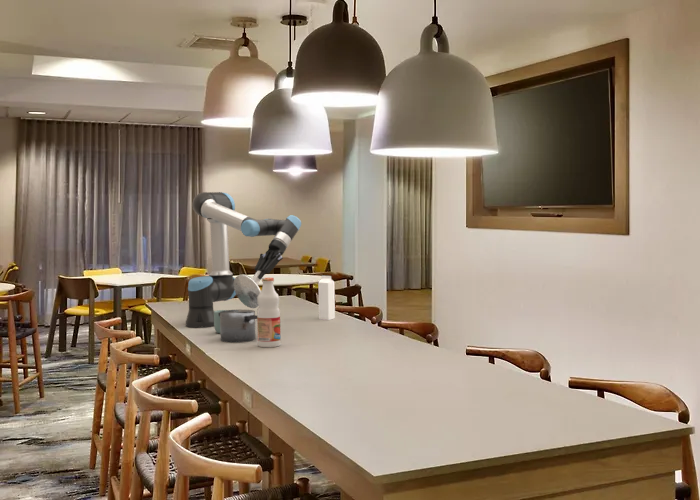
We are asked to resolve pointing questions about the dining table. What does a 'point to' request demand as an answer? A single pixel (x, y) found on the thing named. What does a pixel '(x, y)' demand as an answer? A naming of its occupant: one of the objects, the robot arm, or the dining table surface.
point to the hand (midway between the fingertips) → (253, 284)
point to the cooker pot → (237, 325)
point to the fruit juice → (268, 315)
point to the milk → (326, 298)
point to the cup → (217, 320)
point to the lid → (247, 290)
